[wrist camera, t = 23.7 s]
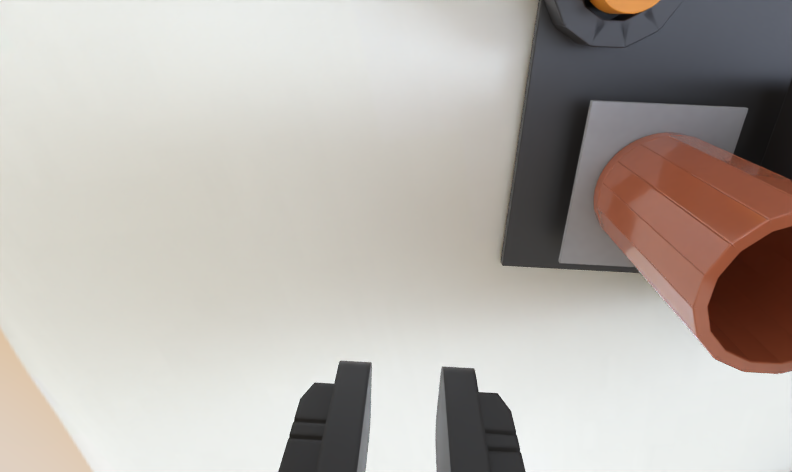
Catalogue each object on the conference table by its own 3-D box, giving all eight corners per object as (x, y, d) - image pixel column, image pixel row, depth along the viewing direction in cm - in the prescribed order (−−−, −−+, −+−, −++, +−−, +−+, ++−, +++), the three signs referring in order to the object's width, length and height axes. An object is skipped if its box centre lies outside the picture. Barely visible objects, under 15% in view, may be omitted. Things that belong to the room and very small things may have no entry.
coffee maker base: (499, 261, 31) (506, 282, 29) (555, -122, 23) (571, -138, 20) (788, 276, 31) (819, 298, 28) (951, -106, 22) (1014, -120, 20)
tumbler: (679, 104, 24) (853, 165, 14) (741, 196, 26) (933, 304, 16) (568, 187, 26) (658, 289, 16) (634, 267, 28) (749, 401, 18)
